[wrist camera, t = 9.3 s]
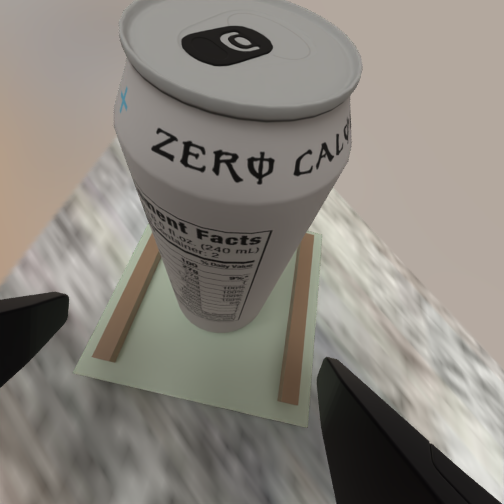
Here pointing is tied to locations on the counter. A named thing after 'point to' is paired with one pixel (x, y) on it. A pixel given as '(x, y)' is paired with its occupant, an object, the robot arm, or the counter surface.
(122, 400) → the counter surface
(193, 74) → the energy drink can
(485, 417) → the counter surface
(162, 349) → the mat
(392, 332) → the counter surface
